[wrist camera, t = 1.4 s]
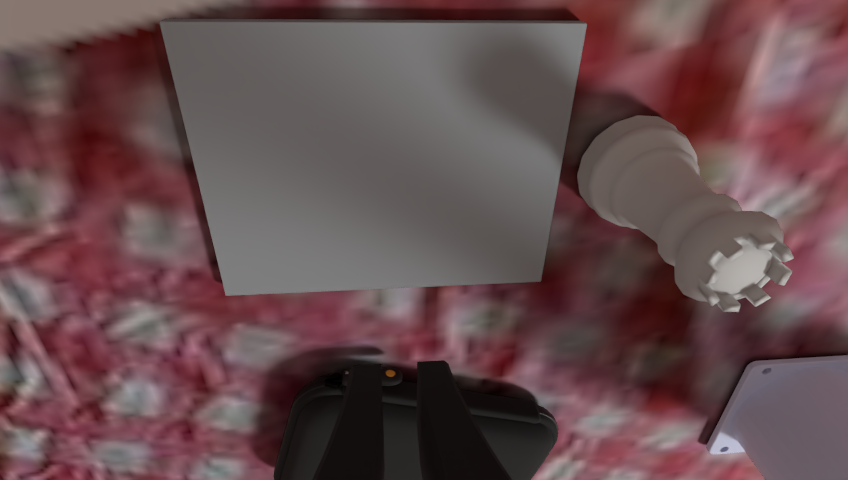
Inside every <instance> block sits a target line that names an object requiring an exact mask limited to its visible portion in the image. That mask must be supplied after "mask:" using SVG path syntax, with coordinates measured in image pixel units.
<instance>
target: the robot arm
mask: <svg viewBox="0 0 848 480" xmlns="http://www.w3.org/2000/svg"><path fill="white" fill-rule="evenodd" d="M416 421H417V434H418V447H419V459H420V467H421V473H422V479H423V480H512V479H511V477H510V476H509V474H508V473H507V471H506V470H505V468H504V467H503V465H502V464H501V462H500V461H499V459H498V458H497V456H496V455H495V453H494V452H493V450H492V448H491V447H490V445H489V444H488V442H487V440H486V438H485V437H484V435H483V433H482V432H481V430H480V428H479V427H478V425H477V423H476V421H475V420H474V418H473V416H472V414H471V412H470V411H469V409H468V407H467V405H466V403H465V401H464V399H463V397H462V395H461V393H460V391H459V389H458V387H457V384H456V382H455V380H454V378H453V375H452V373H451V370H450V368H449V365H448V363H446V362H445V361H444V360H443V361H426V362H417V418H416ZM706 448H707V450H708V452H709V453H710V454H725V453H738V452H746V453H747V455H748V456H749V458H750V459H751V460H752V462H753V463H754V465H755V466H756V467H757V469H758V470H759V472H760V473H761V474H762V476H763V477H764V478H765V480H848V355H842V356H825V357H809V358H793V359H777V360H761V361H753V362H751V363H750V364H748V366H747V367H746V369H745V371H744V373H743V375H742V377H741V379H740V381H739V383H738V385H737V386H736V388H735V390H734V392H733V394H732V396H731V398H730V400H729V402H728V404H727V406H726V408H725V410H724V412H723V414H722V416H721V418H720V420H719V422H718V424H717V426H716V428H715V430H714V432H713V434H712V436H711V438H710V439H709V441H708V443H707V446H706ZM384 474H385V457H384V428H383V401H382V373H381V364H375V365H357V366H353V367H352V368H351V369H350V371H349V377H348V382H347V387H346V391H345V395H344V398H343V402H342V405H341V408H340V411H339V414H338V417H337V420H336V423H335V426H334V428H333V431H332V433H331V436H330V439H329V441H328V444H327V447H326V449H325V452H324V454H323V457H322V459H321V461H320V463H319V466H318V468H317V470H316V472H315V475H314V477H313V479H312V480H384Z"/></svg>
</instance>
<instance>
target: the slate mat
mask: <svg viewBox="0 0 848 480" xmlns="http://www.w3.org/2000/svg"><path fill="white" fill-rule="evenodd" d="M159 23H160V27H161V31H162V35H163V39H164V44H165V48H166V52H167V56H168V60H169V64H170V68H171V72H172V76H173V81H174V85H175V89H176V93H177V97H178V101H179V105H180V109H181V113H182V118H183V122H184V126H185V130H186V134H187V138H188V142H189V146H190V151H191V155H192V159H193V163H194V167H195V171H196V175H197V179H198V183H199V188H200V192H201V196H202V200H203V204H204V208H205V212H206V216H207V220H208V225H209V229H210V233H211V237H212V241H213V245H214V249H215V253H216V257H217V262H218V266H219V270H220V274H221V278H222V282H223V286H224V290H225V294H226V296H229V295H252V294H274V293H297V292H319V291H342V290H364V289H387V288H410V287H432V286H455V285H477V284H500V283H522V282H541V278H542V272H543V267H544V261H545V256H546V250H547V245H548V239H549V233H550V228H551V222H552V217H553V211H554V205H555V200H556V194H557V189H558V183H559V178H560V172H561V166H562V161H563V155H564V150H565V144H566V138H567V133H568V127H569V122H570V116H571V111H572V105H573V99H574V94H575V88H576V83H577V77H578V71H579V66H580V60H581V55H582V49H583V44H584V38H585V32H586V27H587V23H585V22H582V21H541V20H340V19H164V20H162V21H160V22H159Z"/></svg>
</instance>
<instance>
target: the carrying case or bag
mask: <svg viewBox="0 0 848 480" xmlns="http://www.w3.org/2000/svg"><path fill="white" fill-rule="evenodd" d="M349 371H350V370H344V371H343V372H342V374H340V373H335V374H332V375H325V376H322V377H319V378H318V379H316V380H315V381H313V382H311V383H309V384H307V385H306V386H305V387H303V388H302V389H301V390H300V391H299V393H298V394H297V395H296V396H295V398H294V400H293V403H292V407H291V411H290V414H289V418H288V422H287V425H286V429H285V433H284V436H283V440H282V443H281V447H280V451H279V454H278V458H277V462H276V465H275V469H274V480H312V479H313V477H314V475H315V472H316V470H317V468H318V466H319V463H320V461H321V459H322V457H323V454H324V452H325V449H326V447H327V444H328V441H329V439H330V436H331V433H332V431H333V428H334V426H335V423H336V420H337V417H338V414H339V411H340V408H341V405H342V402H343V398H344V395H345V391H346V387H347V382H348V377H349ZM381 373H382V401H383V428H384V457H385V474H384V480H423V479H422V473H421V467H420V459H419V447H418V434H417V421H416V418H417V383H412V382H406V381H402V378H403V375H402V372H401V371H400V370H399V369H396V368H392V367H383V368H381ZM459 391H460V393H461V395H462V397H463V399H464V401H465V403H466V405H467V407H468V409H469V411H470V412H471V414H472V416H473V418H474V420H475V421H476V423H477V425H478V427H479V428H480V430H481V432H482V433H483V435H484V437H485V438H486V440H487V442H488V444H489V445H490V447H491V448H492V450H493V452H494V453H495V455H496V456H497V458H498V459H499V461H500V462H501V464H502V465H503V467H504V468H505V470H506V471H507V473H508V474H509V476H510V477H511V479H512V480H531V479H532V477H533V476H534V474H535V473H536V471H537V470H538V469H539V467H540V466H541V464H542V463H543V462H544V460H545V459H546V457H547V456H548V454H549V452H550V451H551V449H552V448H553V446H554V445H555V443H556V441H557V437H558V426H557V423H556V421H555V418H554V417H553V415H552V414H551V413H549V412H548V411H547V410H546V409H545V408H543V407H541V406H538V405H537V404H536V402H535V401H533V400H522V399H516V398H509V397H503V396H496V395H490V394H483V393H477V392H470V391H464V390H459Z"/></svg>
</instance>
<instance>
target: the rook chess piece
mask: <svg viewBox="0 0 848 480" xmlns="http://www.w3.org/2000/svg"><path fill="white" fill-rule="evenodd" d="M577 179H578V186H579V192H580V195H581V196H582V198H583V199H584V200H585V201H586V203H587V204H588V205H589V207H590V208H592V209H594V210H595V211H596V213H597V214H598V215H599V217H601V218H603V219H605V220H608V221H610V222H612V223H614V224H616V225H618V226H623V227H629V228H631V229H639V230H640V231H642V232H643V233H644V234H646V235H647V236H648V237H650V238H651V239H652V240H654V241H655V242H656V243H657V244H658V253H659V254H660V256H661V257H662V258H663V260H664V261H665V262H666V263H668V264H670V265H673V266H674V268H675V283H676V285H677V286H678V288H679V289H680V290H681V292H682V293H683V295H686V296H688V297H690V298H693V299H695V300H697V301H707V302H708V303H709V304H710V305H711V306H713V305H715V304H717V305H718V306H719V308H720V309H721V310H722V311H723V312H739V309H740V306H741V304H740V303H739V302H738V301H737V300H738V299H741V298H745V297H746V298H747V299H748V300H749V301H750V302H751V303H752V304H753V305H754V306H755V307H756V306H758V305H760V304H762V303H763V302H765V301H767V300H769V299H770V298H771V297H770V296H769V295H768V294H767V293H766V292H764V291H763V290H762V289H761V288H762V287H763V286H764V285H765V284H766V283H767V282H768V281H769V280H770V279H771V280H773V281H774V282H775V283H776V284H779V285H785V284H786V282H787V280H788V278H789V277H790V275H791V273H792V271H791V270H790V269H789V268H787V267H786V266H785V265H784V264H783V263H784V262H787V261H789V260H791V259H794V257H793V255H792V253H791V251H790V249H789V247H788V246H786V245H785V244H784V243H783V232H782V230H781V228H780V226H779V224H778V222H777V220H776V219H774V218H772V217H770V216H769V215H767V214H765V213H763V212H755V211H742V209H741V207H740V205H739V203H738V201H736V200H734V199H733V198H731V197H729V196H727V195H725V194H716V193H715V192H713V191H712V190H711V188H710V187H709V186H708V185H707V184H706V183H705V181H704V180H703V179H702V178H701V177H700V176H699V167H698V165H697V155H696V153H695V151H694V150H693V148H692V146H691V144H690V142H689V141H688V139H687V137H686V135H684V134H682V133H681V132H679V131H678V130H677V129H676V127H675V126H674V125H672V124H671V123H669V122H667V121H666V120H664V119H662V118H660V117H659V116H642V115H637V116H634V117H631V118H628V119H625V120H621V121H618V122H615V123H614V124H613V125H611V126H610V127H609V128H607V129H606V130H605V131H603V132H602V133H601V134H599V135H598V136H597V137H595V139H594V140H593V142H592V143H591V145H590V146H589V147H588V149H587V150H586V152H585V153H584V154H583V156H582V159H581V163H580V167H579V170H578V174H577ZM781 261H782V262H783V263H781Z"/></svg>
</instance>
